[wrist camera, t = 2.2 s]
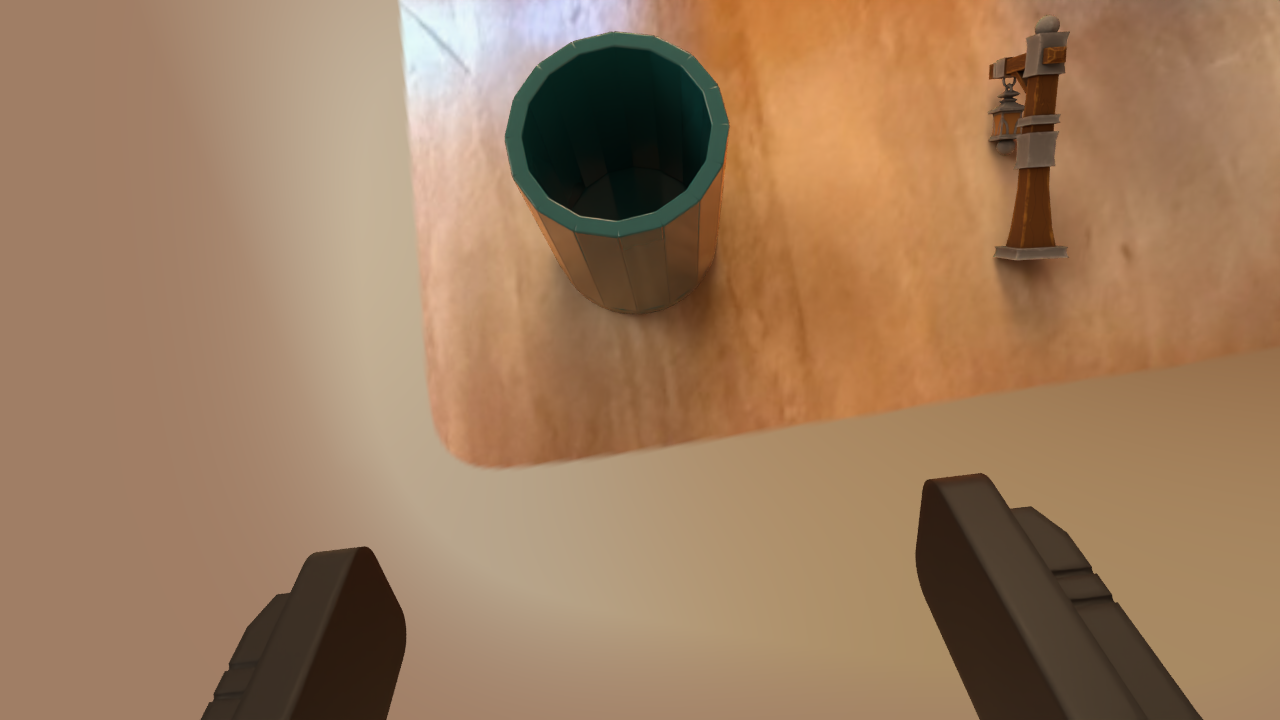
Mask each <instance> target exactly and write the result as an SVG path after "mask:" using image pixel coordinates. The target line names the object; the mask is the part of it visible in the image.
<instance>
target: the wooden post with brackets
mask: <svg viewBox="0 0 1280 720" xmlns="http://www.w3.org/2000/svg"><path fill="white" fill-rule="evenodd" d="M1059 27H1060V22H1059V19H1058V18H1057V17H1056V16H1053V15H1046V16H1044V17H1042V18H1041V19H1040V20H1039V21H1038V22H1037V24H1036V26H1035V32H1036V35H1033V36H1030V37H1028V38H1026V41H1027V52H1026V53H1025V54H1022V55H1019V56H1016V57H1009V58H1003V59H1000V60H997V61H996V63H994V64H991V65H990V70H989V79H1002V78H1003V85H1004V86H1005V87H1006V89H1005V92H1003V93H1002V94H1000V95H999V96H997V97H998V98H1004V100H1002V101H1000V103H1001V104H1000V105H999V106H998V107H996V108H995V109H993V110H991V111H989V112H988V114H993V127H992V134H991V137H990V139H989V141H999V142H998V144H997V151H998V153H999V154H1001V155H1008V154H1010V153H1012V152H1013V151H1014V149H1015V142H1014V141H1013V140H1015V139H1017V156H1016V163H1015V166H1014V169H1019V176H1018V189H1017V195H1016V201H1015V207H1014V213H1013V219H1012V225H1011V229H1010V233H1009V237H1008V240H1007V244H1006V246H997V247H995V248H996V252H995V255H994V256H993V257H998V258H1005V259H1011V260H1030V259H1050V258H1069V257H1068V256H1067V251H1066V249H1067V247H1065V246H1056V245H1055V240H1054V235H1053V230H1052V221H1051V208H1050V194H1049V174H1050V166H1055V159H1054V156H1055V147H1056V139H1057V136H1058V133H1059V131H1054V124H1056V123H1060V121H1059V117H1060V115H1061V114H1055V107H1056V97H1057V87H1058V77H1059V74H1064V73H1065V66H1064V64H1065V62H1066V49H1067V39H1068V36H1069V33H1070V32H1058V30H1059ZM1012 77H1014V81H1013V84H1010V83H1009V84H1008V85H1006V84H1005V78H1012ZM1016 78H1017V80H1018V82H1019V83H1020V85H1021V86H1022V88H1023V90H1024V91H1025V93H1026V100H1025V106H1024V105H1021V104H1018V103H1016V102H1015V101H1016V100H1017V99H1015V98H1013V97H1014V96H1017V95H1019V94H1020V93H1018V92H1016V91H1014V90H1013V86H1014V85H1015V83H1016ZM1008 88H1010V90H1008ZM1023 110H1024V116H1023V118H1022V112H1023Z"/></svg>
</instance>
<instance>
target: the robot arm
mask: <svg viewBox="0 0 1280 720" xmlns="http://www.w3.org/2000/svg"><path fill="white" fill-rule="evenodd" d="M916 567H917V573H918V578H919V582H920V586H921V589H922V592H923V595H924V597H925V599H926V601H927V604H928V606H929V608H930V610H931V613H932V615H933V617H934V619H935V622H936V624H937V626H938V628H939V630H940V633H941V635H942V637H943V639H944V641H945V644H946V646H947V648H948V650H949V652H950V655H951V657H952V659H953V661H954V663H955V666H956V668H957V670H958V672H959V675H960V677H961V679H962V681H963V683H964V686H965V688H966V690H967V692H968V695H969V697H970V699H971V701H972V703H973V705H974V708H975V710H976V712H977V714H978V717H979V719H980V720H1203V719H1202V717H1201V716H1200V715H1199V714H1198V713H1197V712H1196V710H1195V709H1194V707H1193V706H1192V704H1191V703H1190V702H1189V700H1188V699H1187V697H1186V696H1185V695H1184V693H1183V692H1182V691H1181V689H1180V688H1179V686H1178V685H1177V684H1176V682H1175V681H1174V679H1173V678H1172V677H1171V675H1170V674H1169V673H1168V671H1167V670H1166V668H1165V667H1164V666H1163V664H1162V663H1161V662H1160V660H1159V659H1158V657H1157V656H1156V655H1155V653H1154V652H1153V650H1152V649H1151V648H1150V646H1149V645H1148V644H1147V642H1146V641H1145V639H1144V638H1143V637H1142V635H1141V634H1140V633H1139V631H1138V630H1137V628H1136V627H1135V626H1134V624H1133V623H1132V621H1131V620H1130V619H1129V617H1128V616H1127V615H1126V613H1125V612H1124V610H1123V609H1122V608H1121V606H1120V605H1119V604H1118V603H1115V602H1114V601H1113V598H1112V594H1111V593H1110V591H1109V590H1108V589H1107V587H1106V586H1105V584H1104V583H1103V581H1102V580H1101V579H1100V577H1099V576H1098V575H1097V574H1094V573H1093V571H1092V567H1091V565H1090V564H1089V562H1088V561H1087V560H1086V558H1085V557H1084V555H1083V554H1082V553H1081V551H1080V550H1079V548H1078V547H1077V546H1076V544H1075V543H1074V541H1073V540H1072V539H1071V538H1070V536H1069V535H1068V534H1067V532H1065V531H1064V530H1063V529H1061V528H1060V527H1058V526H1057V525H1056V524H1054V523H1053V522H1052V521H1050V520H1049V519H1048V518H1046V517H1045V516H1044V515H1042V514H1041V513H1039V512H1038V511H1037V510H1035V509H1034V508H1033V507H1021V508H1013V509H1010V508H1009V507H1008V505H1007V504H1006V502H1005V500H1004V499H1003V497H1002V496H1001V494H1000V493H999V491H998V490H997V488H996V487H995V485H994V484H993V482H992V481H991V480H990V479H989V478H988V477H987V476H986V475H984V474H982V473H978V474H971V475H962V476H954V477H946V478H937V479H929V480H927V481H926V482H925V483H924V486H923V491H922V500H921V509H920V518H919V527H918V535H917V544H916ZM405 647H406V624H405V618H404V614H403V611H402V609H401V607H400V605H399V603H398V601H397V599H396V597H395V595H394V593H393V591H392V589H391V587H390V585H389V583H388V581H387V579H386V577H385V575H384V573H383V571H382V569H381V567H380V565H379V563H378V560H377V559H376V557H375V555H374V553H373V552H372V550H371V549H369V548H368V547H357V548H348V549H340V550H332V551H324V552H316V553H313V554H312V555H310V556H309V557H308V558H307V560H306V561H305V563H304V565H303V567H302V569H301V571H300V573H299V575H298V578H297V580H296V582H295V584H294V586H293V588H292V590H291V592H290V593H286V594H278V595H276V596H275V597H274V598H273V599H272V601H271V602H270V603H269V604H268V605H267V606H266V607H265V608H264V609H263V610H262V611H261V613H260V614H259V615H258V616H257V617H256V618H255V619H254V620H253V621H252V623H251V624H250V625H249V626H248V627H247V629H246V631H245V632H244V635H243V636H242V639H241V640H240V642H239V644H238V647H237V648H236V650H235V652H234V654H233V656H232V658H231V660H230V662H229V670H228V671H225V673H224V675H223V676H222V678H221V680H220V682H219V684H218V686H217V688H216V690H215V692H214V700H213V702H209V704H208V706H207V708H206V710H205V712H204V714H203V716H202V718H201V720H386V719H387V715H388V712H389V707H390V704H391V701H392V697H393V693H394V689H395V686H396V682H397V679H398V675H399V671H400V668H401V664H402V661H403V657H404V653H405Z"/></svg>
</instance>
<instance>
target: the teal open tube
mask: <svg viewBox="0 0 1280 720" xmlns="http://www.w3.org/2000/svg"><path fill="white" fill-rule="evenodd" d="M729 128H730V126H729V120H728V116H727V113H726V109H725V106H724V102H723V99H722V95H721V92H720V88H719V87H718V84H717V83H716V82H715V81H714V80H713V78H712V77H711V76H710V75H709V74H708V72H707V71H706V70H705V69H704V68H703V66H702V65H701V64H700V63H699V62H698V61H697V59H696V58H695V57H694V56H693V55H691V54H690V53H688V52H687V51H685V50H683V49H681V48H679V47H677V46H675V45H673V44H671V43H669V42H667V41H665V40H663V39H661V38H659V37H657V36H656V37H655V36H654V35H645V34H635V33H626V32H616V31H615V32H614V33H613V32H608V33H604V34H600V35H596V36H592V37H588V38H584V39H580V40H576V41H573V43H572V42H571V43H569V44H568V45H566V46H565V47H563V48H562V49H560V50H559V51H557V52H556V53H554V54H553V55H551V56H550V57H548V58H547V59H545V60H544V61H542V62H541V63H539V64H538V66H536V67H535V68H534V70H533V71H532V73H531V74H530V76H529V77H528V78H527V80H526V81H525V83H524V84H523V85H522V87H521V88H520V90H519V91H518V93H517V94H516V95H515V97H514V100H513V102H512V106H511V111H510V115H509V120H508V124H507V129H506V133H505V145H506V150H507V155H508V159H509V164H510V169H511V174H512V177H513V180H514V181H515V183H516V185H517V187H518V189H519V191H520V193H521V194H522V196H523V198H524V200H525V202H526V204H527V206H528V207H529V209H530V211H531V213H532V215H533V217H534V219H535V220H536V222H537V224H538V226H539V228H540V230H541V232H542V233H543V235H544V237H545V239H546V241H547V243H548V245H549V246H550V248H551V250H552V252H553V254H554V256H555V258H556V259H557V261H558V263H559V265H560V267H561V268H562V270H563V271H564V272H565V274H566V275H567V277H568V279H569V280H570V282H571V283H572V284H573V286H574V287H575V288H576V289H577V290H578V291H579V292H580V293H581V294H582V295H583V296H584V297H586V298H587V299H589V300H590V301H591V302H593V303H595V304H597V305H599V306H601V307H603V308H605V309H608V310H611V311H615V312H619V313H626V314H645V313H650V312H655V311H659V310H662V309H665V308H667V307H670V306H672V305H674V304H676V303H677V302H679V301H681V300H682V299H684V298H685V297H686V296H688V295H689V294H690V293H691V292H692V291H693V290H694V289H695V288H696V287H697V286H698V285H699V284H700V283H701V281H702V280H703V278H704V277H705V276H706V274H707V272H708V270H709V268H710V266H711V263H712V261H713V258H714V255H715V250H716V243H717V236H718V230H719V221H720V212H721V202H722V193H723V184H724V174H725V165H726V156H727V146H728V137H729Z"/></svg>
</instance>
